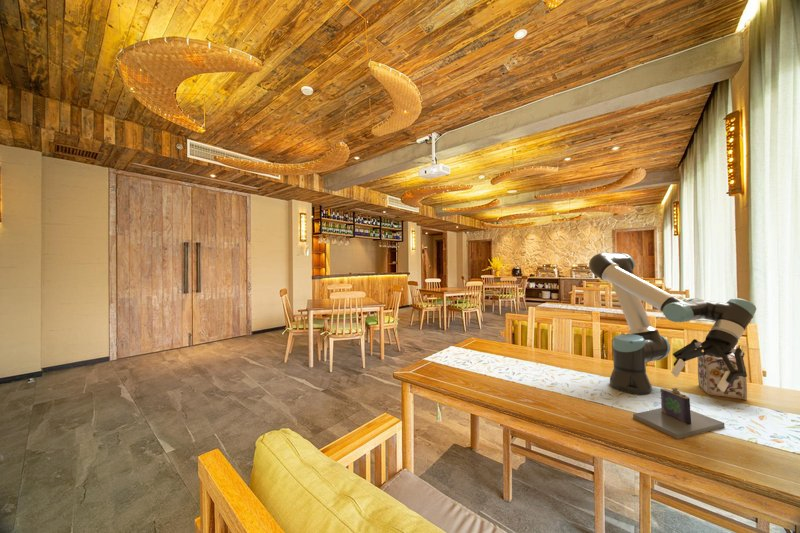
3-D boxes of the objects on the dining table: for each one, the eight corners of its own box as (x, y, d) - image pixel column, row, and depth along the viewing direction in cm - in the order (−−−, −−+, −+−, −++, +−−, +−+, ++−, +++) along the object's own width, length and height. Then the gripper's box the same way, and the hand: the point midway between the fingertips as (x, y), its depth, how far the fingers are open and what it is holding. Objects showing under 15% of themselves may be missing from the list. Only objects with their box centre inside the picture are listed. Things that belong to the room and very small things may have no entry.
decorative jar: (748, 400, 117) (746, 356, 117) (707, 394, 123) (705, 352, 123) (735, 389, 127) (733, 348, 127) (697, 384, 133) (696, 345, 133)
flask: (659, 412, 108) (658, 383, 108) (666, 411, 108) (665, 382, 108) (687, 425, 99) (686, 393, 99) (694, 424, 99) (693, 393, 99)
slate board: (633, 418, 107) (633, 414, 107) (676, 408, 113) (676, 404, 113) (677, 439, 94) (677, 434, 94) (724, 427, 99) (724, 422, 99)
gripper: (779, 351, 96) (749, 403, 93) (689, 334, 120) (663, 375, 117) (768, 336, 95) (737, 389, 92) (679, 322, 119) (652, 363, 116)
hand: (695, 381), depth 104 cm, fingers open, 13 cm apart
